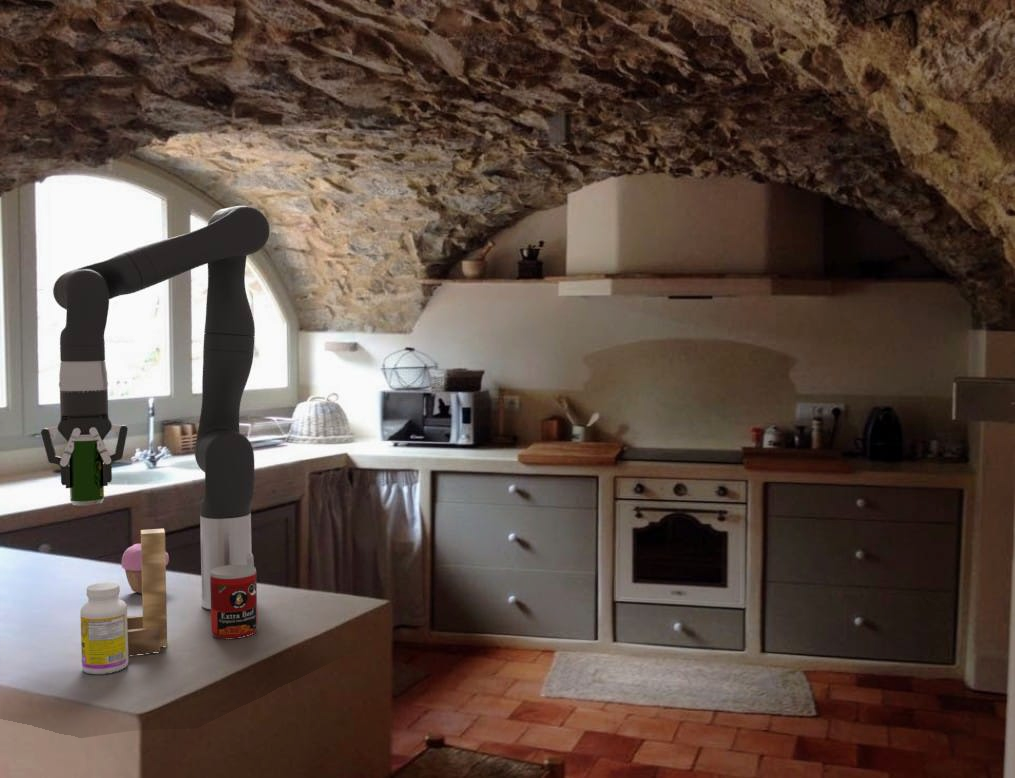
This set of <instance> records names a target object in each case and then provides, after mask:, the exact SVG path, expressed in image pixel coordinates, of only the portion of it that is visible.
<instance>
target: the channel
mask: <svg viewBox="0 0 1015 778" xmlns="http://www.w3.org/2000/svg"><path fill="white" fill-rule="evenodd" d="M127 629H128V656H130V655H137V654H146V653H153V652H160V653H161V649H160V639H159V627H150V628H143V614H141V615H140V614H139V615H138V614H137V615H127ZM130 657H131V656H130Z"/></svg>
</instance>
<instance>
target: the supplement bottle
mask: <svg viewBox="0 0 1015 778" xmlns="http://www.w3.org/2000/svg"><path fill="white" fill-rule="evenodd" d="M120 589H121V588H120V584H119V583H117V582H102V583H101V582H99V583H95V584H91V585H88V586H87V587H86V597H87V598H88V601H87V602H85V603H84V604H83V606H82V607H81V608H80V616H79V617H80V642H81V646H80V647H81V667H82V670H83V671H84V673H87V674H89V675H106V674H105V673H109V674H112V673H111V672H114V673H116V672H115V671H117V672H120V671H121V669H122V670H124V669H125V668H126V667H127V666H128V665H129V657H128V629H127V616H128V605H127V603H126V602H125V601H124V600H123V599H121V598H119V595H120ZM123 668H124V669H123ZM119 670H120V671H119Z"/></svg>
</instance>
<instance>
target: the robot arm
mask: <svg viewBox="0 0 1015 778" xmlns="http://www.w3.org/2000/svg"><path fill="white" fill-rule="evenodd" d="M269 237H270V224H269V222H268V219H267V217H266V216H265V214H264V213H262V212H261V211H260V210H259V209H257V208H255V207H253V206H247V205H237V206H230V207H224V208H221V209H219V210H217V211H215V213H213V214H212V216H211V217H210V218H209V220H208V224H207V225H205V226H204V227H200V228H199V229H196V230H193V231H190V232H188V233H185V234H181V235H177V236H173V237H170V238H164V239H162V240H158V241H155V242H151V243H148V244H144V245H142V246H138V247H136V248H133V249H130V250H127V251H125V252H122V253H119V254H117V255H116V256H115V255H114V256H113V257H111V258H109V259H106V260H103V261H99V262H96V263H92V264H89V265H86V266H85V265H84V266H82V267H79V268H76V269H72V270H70V271H67V272H65V273H63V274H62V275H60V276H59V277H58V278H57V279H56V280H55V283H54V284H53V285H54V286H53V288H52V289H53V290H52V293H53V298H54V300H55V302H56V304H58V305H59V306H60V307H61V308H62V309H64V310H66V313H65V315H66V320H65V326H64V328H63V329H62V330H61V333H60V337H59V352H60V355H59V357H60V367H59V375H58V376H59V377H58V378H59V380H58V381H59V383H58V388H59V404H60V405H59V409H60V420H59V423H58V425H56V426H52V427H44V428H42V429H41V432H40V433H41V434H40V435H41V439H42V442H43V445H44V450H45V454H46V457H47V460H48V463H50V464H54V465H58V466H59V468H60V484H61V485H62V486H65V489H70V466H69V459H70V457H71V454H72V452H73V450H74V440H75V439H76V438H78V437H79V435H82V434H92V437H94V438H96V439H97V440H98V441H97V449H98V451H99V453H100V455H101V457H102V459H103V486H104V487H108V486H109V483H112V479H113V472H112V471H113V470H112V465H113V463H114V462H116V461H120V460H122V458H123V457H124V450H125V445H126V440H127V437H128V436H127V435H128V431H129V430H128V429H129V428H128V426H127V425H126V424H114V423H112V422H111V419H110V417H109V396H108V395H109V393H108V386H109V382H108V372H107V366H106V347H105V345H106V343H105V333H106V332H105V331H106V327H107V320H108V314H109V309H110V308H109V307H110V300H112V299H114V298H116V297H120V296H124V295H125V296H126V295H130V294H134V293H137V292H140V291H142V290H145V289H148V288H150V287H154V286H155V285H157V284H160V283H162V282H164V281H168V280H169V279H172V278H174V277H176V276H179V275H182V274H184V273H186V272H189V271H191V270H194V269H196V268H198V267H201V266H205V265H206V264H207V279H208V280H207V289H206V290H207V291H206V292H207V293H206V304H205V305H206V306H205V307H206V308H205V319H204V320H205V322H204V334H203V349H202V350H203V351H202V353H203V354H202V355H203V356H202V358H203V359H202V376H201V377H202V383H201V384H202V385H201V386H202V388H201V390H202V393H201V395H202V397H201V409H200V415H199V416H200V417H199V422H198V428H197V434H196V439H195V445H194V458H195V461H196V463H197V466H198V467H199V470H201V471H202V472H203V473H205V474H204V479H205V480H204V495H203V498H202V500H201V501H200V504H199V505H200V506H199V511H200V512H199V513H200V514H199V515H200V516H199V519H200V520H199V522H200V523H199V525H200V567H201V568H200V569H201V570H200V571H201V573H200V574H201V575H200V576H201V606H202V607H203V608H204V609H206V610H211V590H210V574H211V570H212V569H214V568H217V567H221V566H226V565H250V566H253V567H255V566H254V565H255V563H254V554H253V553H252V513H251V512H252V502H253V500H254V497H255V453H254V448H253V445H252V443H251V441H250V440H249V439H248V438H247V436H245V435H244V434H243V433H240V407H241V403H242V402H241V401H242V398H243V394H244V391H245V388H246V386H247V382H248V379H249V377H250V373H251V369H252V365H253V361H254V355H255V352H254V351H255V336H256V335H255V333H256V331H255V330H256V328H255V321H254V316H253V312H252V308H251V306H250V302H249V299H248V295H247V291H246V283H245V279H246V278H245V277H246V276H245V275H246V264H247V256H251V255H254V254H255V253H256V254H257V252H259V251H260V250H261V249H263V248H264V247H265V246H266V244H267V242H268V240H269ZM110 431H113V434H114V437H115V438H117V441H116V447H115V452H113V453H111V454H110V453H109V450H108V449H107V447H106V444H105V442H104V440H105V438H106V437H107V435H108V434H109V433H110ZM57 433H60V434H61V436H62V437H63V438H64V439H65V441H67V444H66V446H65V449H64V452H63V454H62V456H59V455H57V454H56V451H55V450H56V449H55V446H54V442H53V441H54V440H55V439H56V437H57ZM72 441H73V442H72ZM99 445H100V446H99ZM70 446H71V447H70Z"/></svg>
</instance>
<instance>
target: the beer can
mask: <svg viewBox="0 0 1015 778" xmlns="http://www.w3.org/2000/svg"><path fill="white" fill-rule="evenodd" d="M97 441H98V440H97V439H96V438H94V437H92V434H82V435H79V437H78V438H76V439H75V440H74V450H73V452H72V454H71V457H70V459H69V466H70V488H69V494H70V495H69V498H70V499H69V500H70V502H71V504H72V505H73V506H80V507H81V506H92V505H93V506H95V505H98V504H102V503H103V502H104V500H105V490H104V489H105V486H103V463H104V461H103V459H102V457H101V455H100V453H99V451H98V449H97ZM72 442H73V441H72ZM99 446H100V445H99ZM70 447H71V446H70Z"/></svg>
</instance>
